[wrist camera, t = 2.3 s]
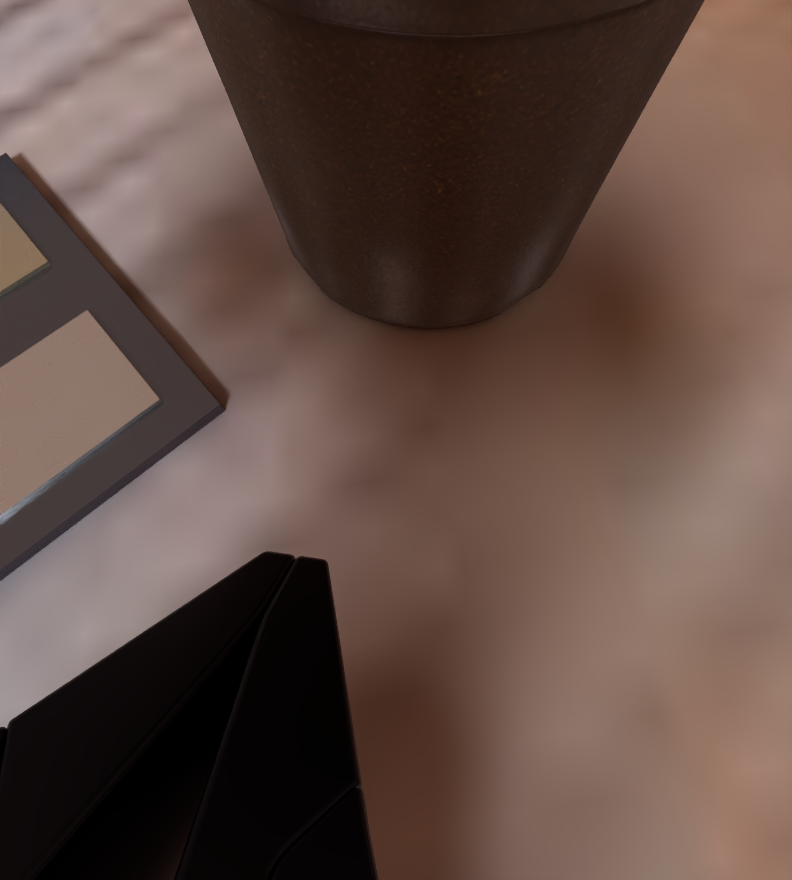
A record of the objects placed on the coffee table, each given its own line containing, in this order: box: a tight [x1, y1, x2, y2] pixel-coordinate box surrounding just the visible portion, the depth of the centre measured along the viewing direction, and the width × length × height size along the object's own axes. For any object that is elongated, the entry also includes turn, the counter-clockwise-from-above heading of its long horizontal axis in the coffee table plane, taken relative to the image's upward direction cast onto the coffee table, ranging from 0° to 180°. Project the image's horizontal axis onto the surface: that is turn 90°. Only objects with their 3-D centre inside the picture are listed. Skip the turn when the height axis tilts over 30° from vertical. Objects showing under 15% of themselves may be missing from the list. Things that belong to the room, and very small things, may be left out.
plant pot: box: [188, 0, 704, 328], centre depth 16 cm, size 16×16×16 cm
